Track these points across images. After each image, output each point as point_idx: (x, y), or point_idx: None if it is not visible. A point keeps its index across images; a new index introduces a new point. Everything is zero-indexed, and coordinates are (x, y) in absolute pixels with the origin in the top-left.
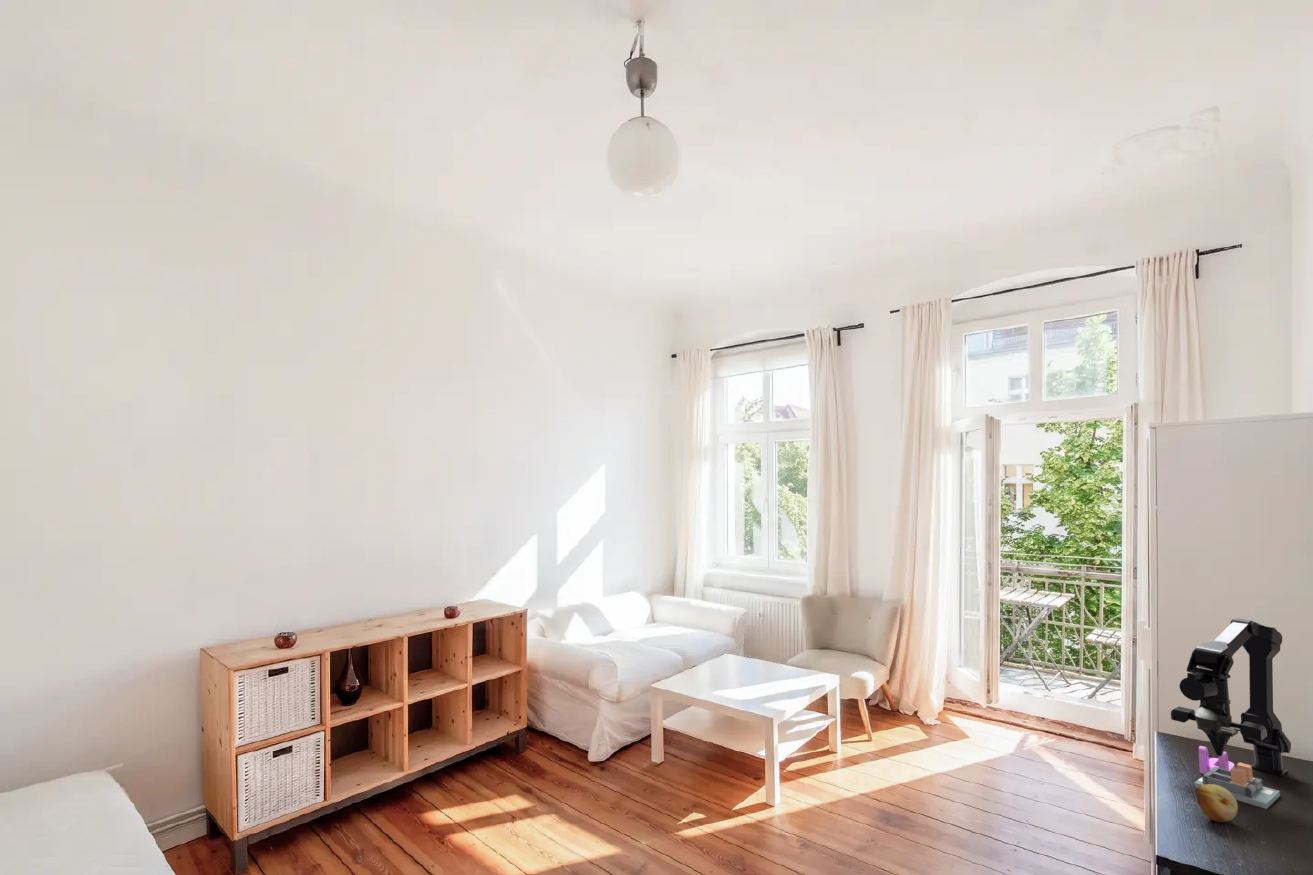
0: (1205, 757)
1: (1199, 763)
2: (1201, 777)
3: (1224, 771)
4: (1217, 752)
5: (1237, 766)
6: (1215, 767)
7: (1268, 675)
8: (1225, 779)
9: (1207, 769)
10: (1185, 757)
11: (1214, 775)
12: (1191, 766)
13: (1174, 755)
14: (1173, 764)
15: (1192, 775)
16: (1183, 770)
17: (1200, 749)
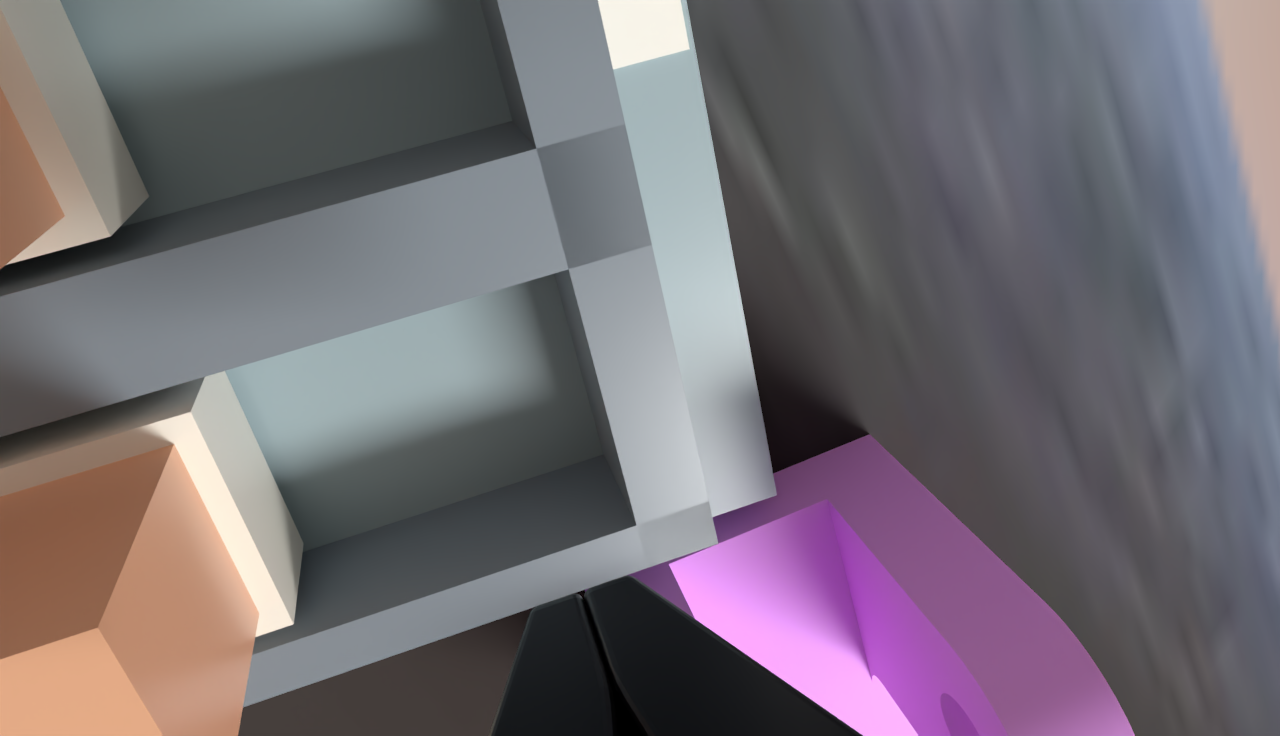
0: (932, 637)
1: (942, 507)
2: (696, 76)
3: (544, 538)
4: (621, 622)
5: (101, 596)
6: (689, 517)
7: None
8: (298, 197)
9: (827, 537)
10: (1153, 709)
11: (499, 152)
12: (1017, 530)
13: (1244, 645)
14: (1173, 362)
15: (877, 217)
16: (1023, 282)
17: (1088, 712)
